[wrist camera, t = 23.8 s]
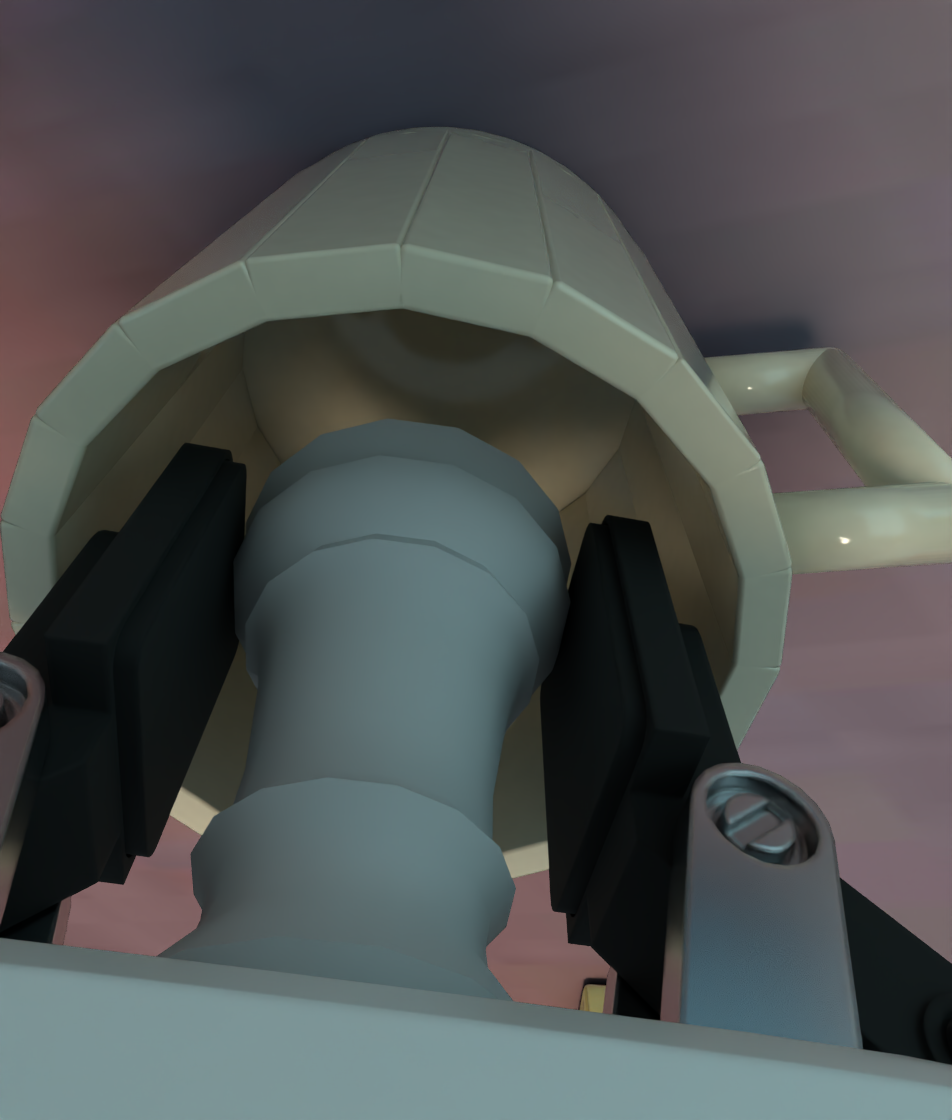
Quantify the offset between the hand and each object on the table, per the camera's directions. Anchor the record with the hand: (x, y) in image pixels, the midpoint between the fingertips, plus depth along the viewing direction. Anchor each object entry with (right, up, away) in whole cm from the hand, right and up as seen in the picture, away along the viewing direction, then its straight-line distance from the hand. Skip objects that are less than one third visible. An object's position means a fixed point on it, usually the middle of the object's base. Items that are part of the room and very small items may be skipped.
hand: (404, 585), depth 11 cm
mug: (+2, +5, +7) cm, 8 cm away
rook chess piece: (0, +1, +1) cm, 1 cm away
